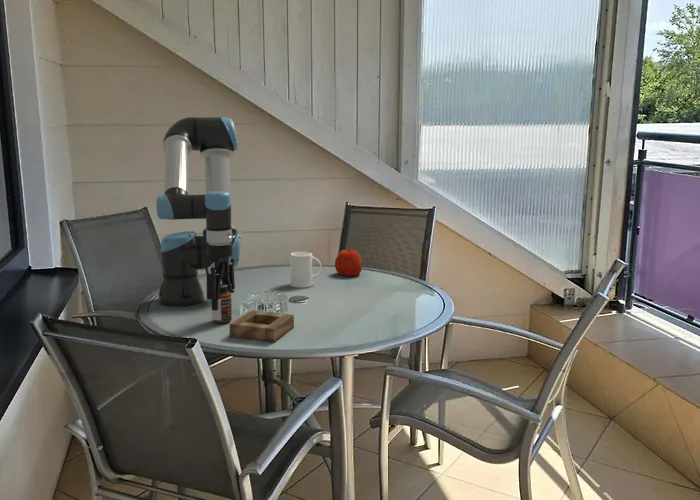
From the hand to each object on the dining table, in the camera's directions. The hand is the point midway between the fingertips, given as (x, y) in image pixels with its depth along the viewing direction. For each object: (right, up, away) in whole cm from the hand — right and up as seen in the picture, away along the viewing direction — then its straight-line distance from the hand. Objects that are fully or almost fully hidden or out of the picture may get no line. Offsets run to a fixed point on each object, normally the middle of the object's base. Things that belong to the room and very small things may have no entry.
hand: (222, 316), depth 199 cm
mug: (+23, +7, +44) cm, 50 cm away
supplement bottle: (0, -2, 0) cm, 2 cm away
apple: (+39, +10, +61) cm, 73 cm away
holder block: (+14, -4, -9) cm, 17 cm away
